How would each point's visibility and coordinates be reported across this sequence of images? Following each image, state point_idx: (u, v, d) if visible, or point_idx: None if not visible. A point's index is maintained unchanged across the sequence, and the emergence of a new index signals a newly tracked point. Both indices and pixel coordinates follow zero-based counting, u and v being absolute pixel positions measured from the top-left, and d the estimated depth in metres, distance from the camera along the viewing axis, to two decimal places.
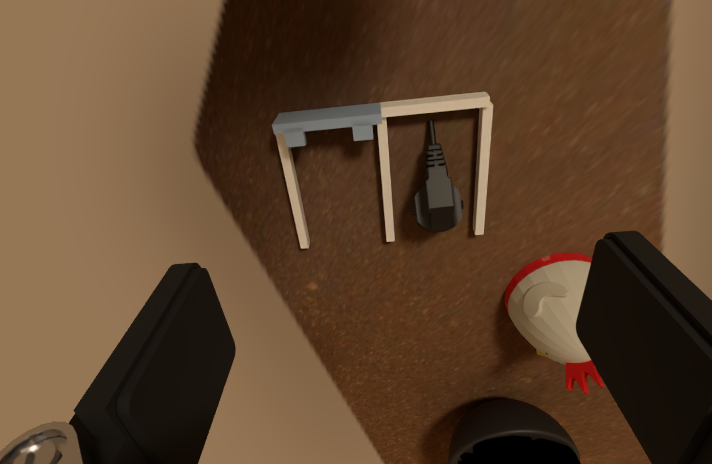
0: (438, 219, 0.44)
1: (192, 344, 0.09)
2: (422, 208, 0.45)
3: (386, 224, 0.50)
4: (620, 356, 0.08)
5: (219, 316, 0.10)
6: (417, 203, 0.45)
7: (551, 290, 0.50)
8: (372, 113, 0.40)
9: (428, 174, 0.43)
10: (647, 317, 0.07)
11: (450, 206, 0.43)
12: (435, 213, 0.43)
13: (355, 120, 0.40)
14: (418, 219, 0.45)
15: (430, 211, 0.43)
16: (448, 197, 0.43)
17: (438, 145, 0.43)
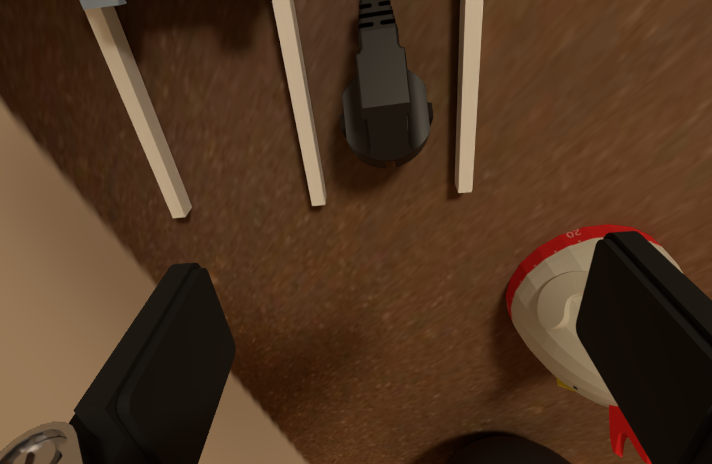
0: (382, 133, 0.23)
1: (192, 344, 0.09)
2: (355, 117, 0.24)
3: (308, 175, 0.29)
4: (620, 356, 0.08)
5: (219, 316, 0.10)
6: (346, 108, 0.24)
7: (585, 284, 0.30)
8: None
9: (361, 41, 0.22)
10: (647, 317, 0.07)
11: (403, 104, 0.22)
12: (375, 120, 0.22)
13: None
14: (348, 138, 0.24)
15: (365, 115, 0.22)
16: (400, 86, 0.22)
17: None
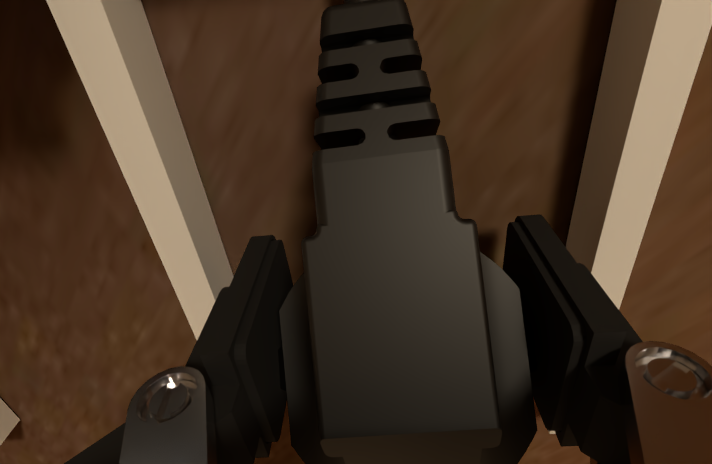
0: None
1: (276, 308, 0.09)
2: None
3: None
4: None
5: (290, 287, 0.11)
6: (292, 347, 0.09)
7: None
8: None
9: (321, 198, 0.06)
10: (536, 288, 0.08)
11: (475, 429, 0.06)
12: (372, 458, 0.06)
13: None
14: (296, 435, 0.08)
15: (336, 452, 0.06)
16: (462, 365, 0.06)
17: (392, 5, 0.07)
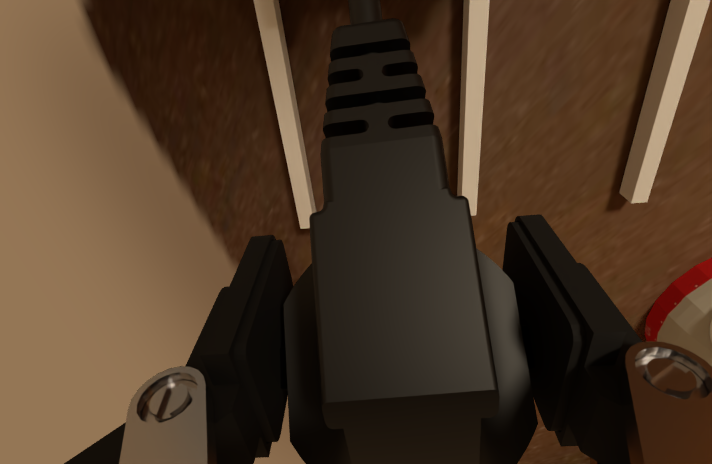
0: (396, 460, 0.07)
1: (276, 308, 0.09)
2: (317, 370, 0.08)
3: (464, 181, 0.26)
4: None
5: (290, 287, 0.11)
6: (294, 340, 0.09)
7: None
8: None
9: (328, 177, 0.07)
10: (535, 288, 0.08)
11: (473, 392, 0.06)
12: (373, 431, 0.07)
13: None
14: (295, 431, 0.08)
15: (337, 420, 0.06)
16: (458, 328, 0.06)
17: (391, 25, 0.08)
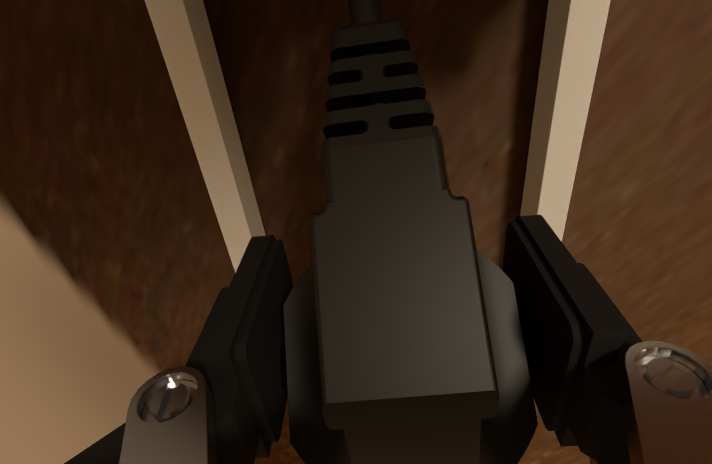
0: (396, 461, 0.07)
1: (277, 308, 0.09)
2: (317, 370, 0.08)
3: None
4: None
5: (290, 287, 0.11)
6: (294, 341, 0.09)
7: None
8: None
9: (328, 178, 0.07)
10: (535, 289, 0.08)
11: (472, 393, 0.06)
12: (373, 431, 0.07)
13: None
14: (295, 431, 0.08)
15: (337, 421, 0.06)
16: (458, 328, 0.06)
17: (391, 25, 0.08)
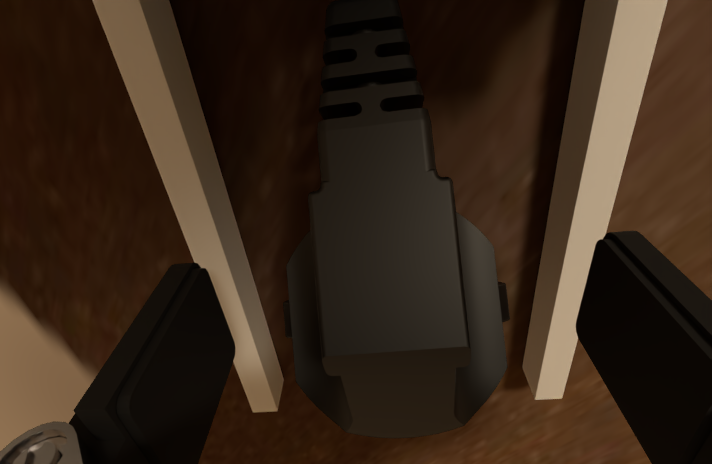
0: (385, 399, 0.08)
1: (192, 344, 0.09)
2: (318, 323, 0.10)
3: (549, 353, 0.14)
4: (620, 356, 0.08)
5: (219, 316, 0.10)
6: (297, 297, 0.10)
7: None
8: None
9: (325, 159, 0.08)
10: (647, 317, 0.07)
11: (449, 348, 0.07)
12: (365, 377, 0.08)
13: None
14: (300, 373, 0.10)
15: (335, 369, 0.08)
16: (438, 295, 0.07)
17: (385, 1, 0.08)
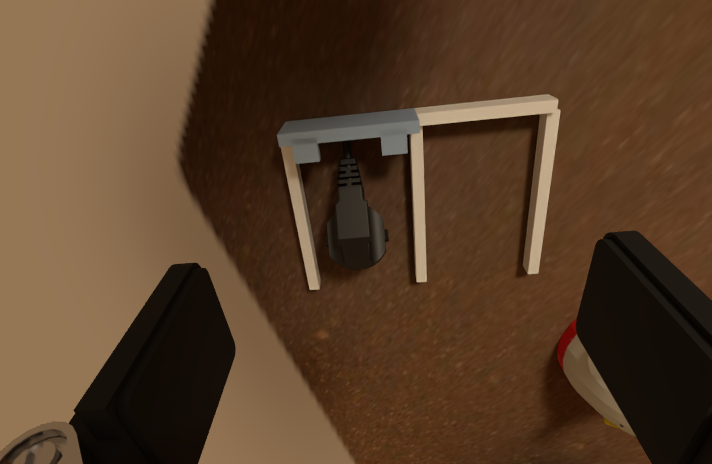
0: (352, 253, 0.34)
1: (192, 344, 0.09)
2: (335, 239, 0.36)
3: (417, 261, 0.40)
4: (620, 356, 0.08)
5: (219, 316, 0.10)
6: (329, 232, 0.36)
7: None
8: (407, 119, 0.31)
9: (338, 195, 0.34)
10: (647, 317, 0.07)
11: (365, 237, 0.33)
12: (347, 245, 0.34)
13: (385, 128, 0.31)
14: (330, 252, 0.36)
15: (340, 243, 0.34)
16: (363, 225, 0.33)
17: (353, 159, 0.34)
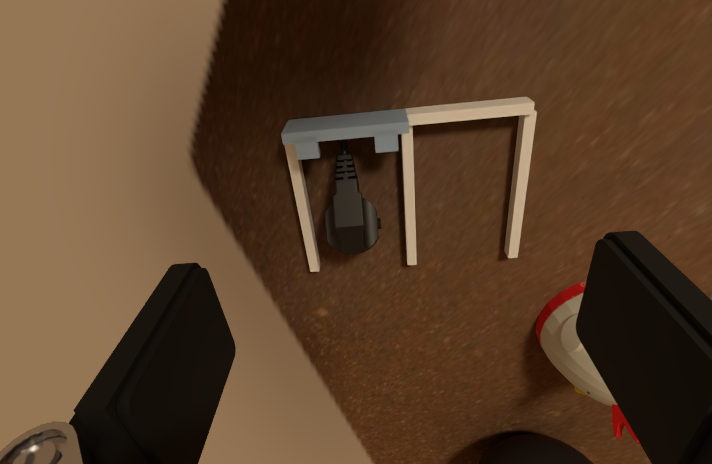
0: (348, 240, 0.38)
1: (192, 344, 0.09)
2: (333, 226, 0.40)
3: (408, 246, 0.44)
4: (620, 356, 0.08)
5: (219, 316, 0.10)
6: (327, 220, 0.40)
7: None
8: (398, 121, 0.35)
9: (336, 188, 0.38)
10: (647, 317, 0.07)
11: (359, 225, 0.37)
12: (343, 233, 0.38)
13: (378, 129, 0.35)
14: (328, 239, 0.40)
15: (337, 231, 0.38)
16: (358, 215, 0.37)
17: (349, 155, 0.38)
